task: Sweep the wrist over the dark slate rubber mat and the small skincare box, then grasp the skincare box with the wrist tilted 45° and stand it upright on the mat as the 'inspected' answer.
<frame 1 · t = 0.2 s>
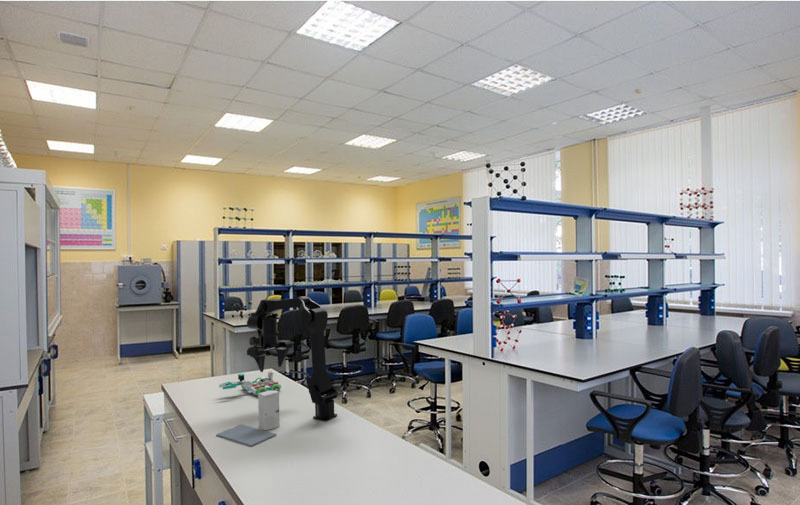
hand: (270, 369, 178), 15 cm above the table, tool pointing down, fingers open, 9 cm apart
robot kit: (250, 394, 196), on the table
inspected mat: (246, 435, 148), on the table
skincare box: (269, 427, 155), on the table
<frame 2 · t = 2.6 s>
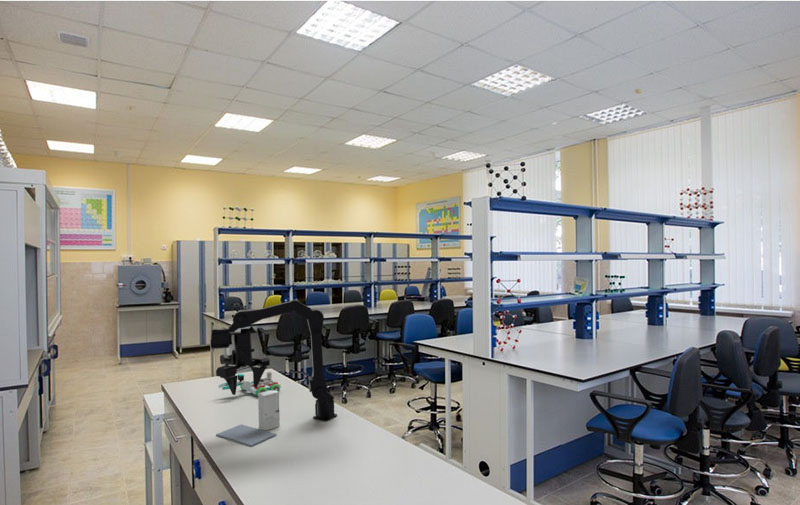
hand: (245, 391, 156), 13 cm above the table, tool pointing down, fingers open, 9 cm apart
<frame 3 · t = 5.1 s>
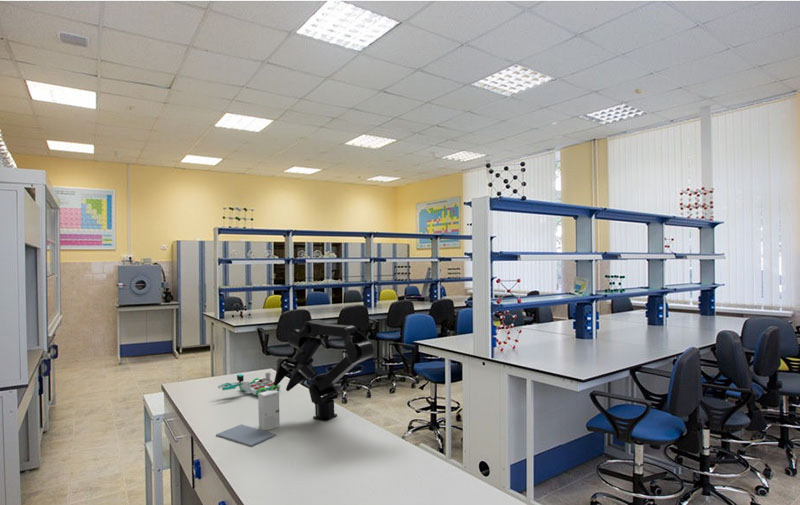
hand: (280, 388, 158), 13 cm above the table, tool tilted 45°, fingers open, 9 cm apart
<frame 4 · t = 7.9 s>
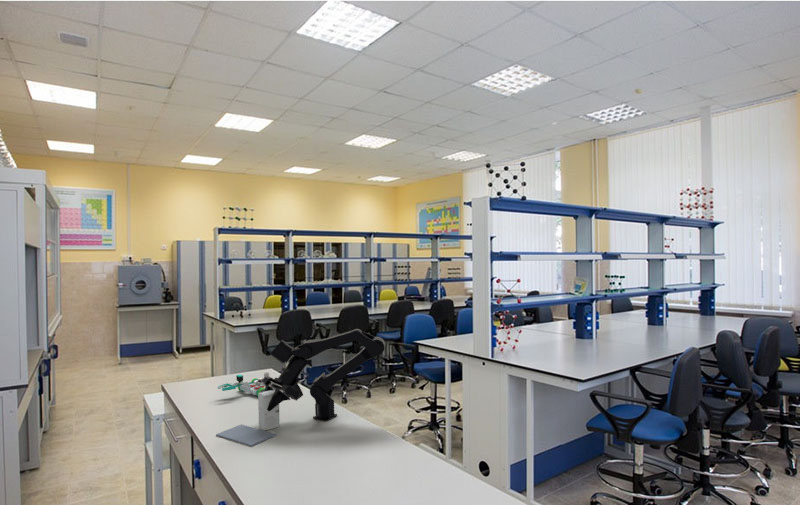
hand: (265, 409, 154), 7 cm above the table, tool tilted 45°, fingers closed on skincare box, 4 cm apart
skincare box: (269, 427, 155), on the table, touching gripper
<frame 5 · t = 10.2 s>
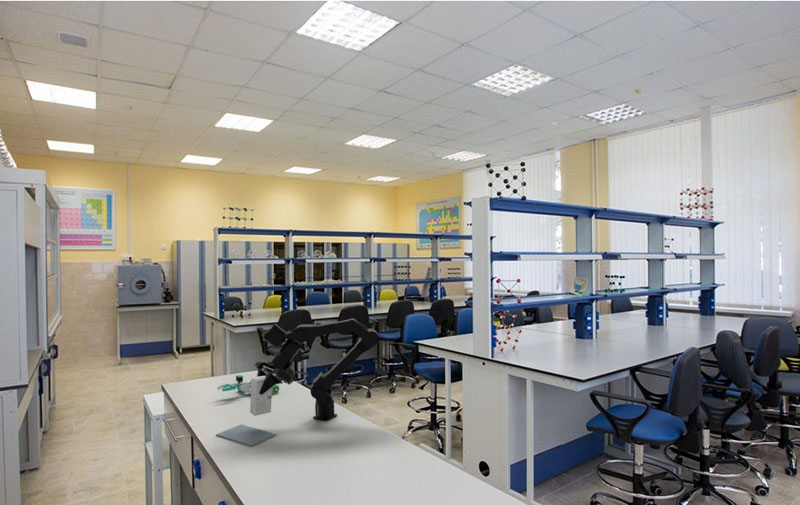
hand: (257, 392, 153), 13 cm above the table, tool tilted 45°, fingers closed on skincare box, 4 cm apart
skincare box: (260, 413, 154), point 5 cm above the table, touching gripper
when the fingers open (8 cm above the table, at t = 12.4 s): skincare box stays where it is, resting on inspected mat.
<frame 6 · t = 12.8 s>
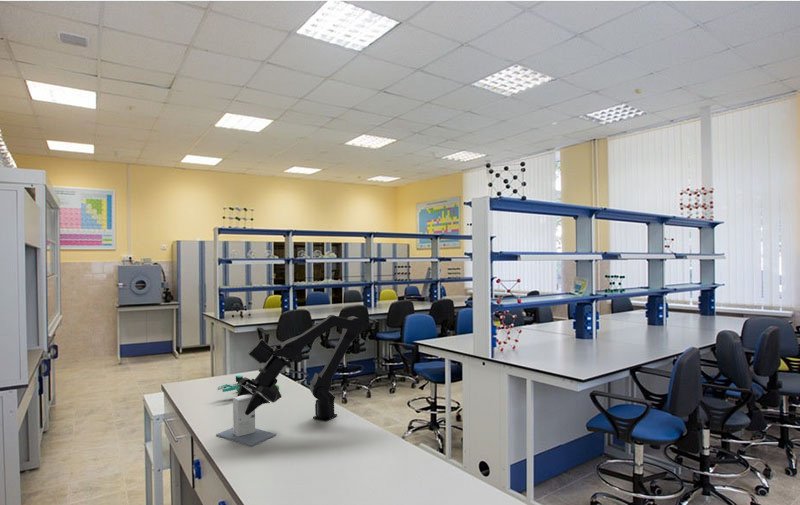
hand: (240, 411, 148), 8 cm above the table, tool tilted 45°, fingers open, 8 cm apart
skincare box: (244, 433, 149), resting on inspected mat
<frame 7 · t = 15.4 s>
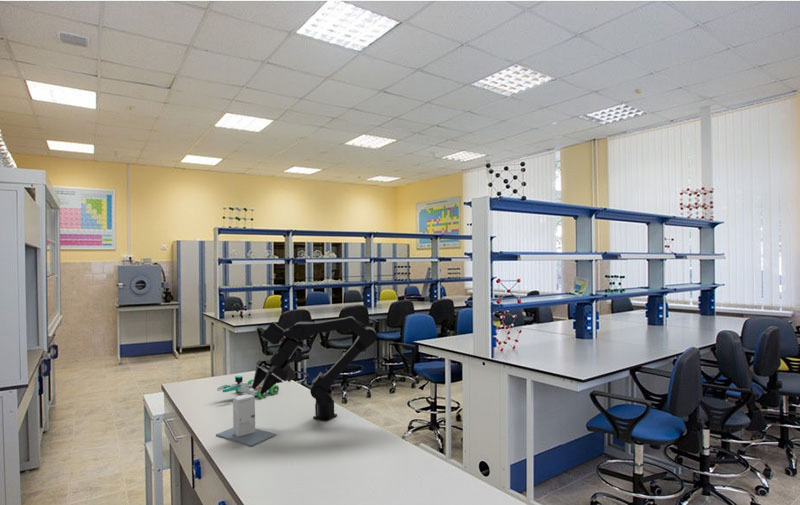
hand: (257, 391, 155), 13 cm above the table, tool tilted 40°, fingers open, 9 cm apart
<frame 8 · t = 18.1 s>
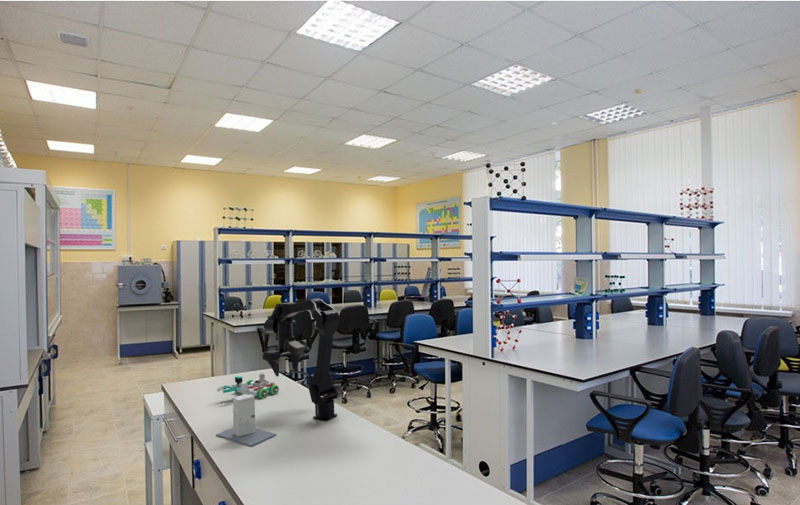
hand: (286, 373, 177), 13 cm above the table, tool pointing down, fingers open, 9 cm apart
at the end: skincare box 0.4 cm from the target spot, resting on inspected mat; skincare box tilted 0°; the gripper is holding nothing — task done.
